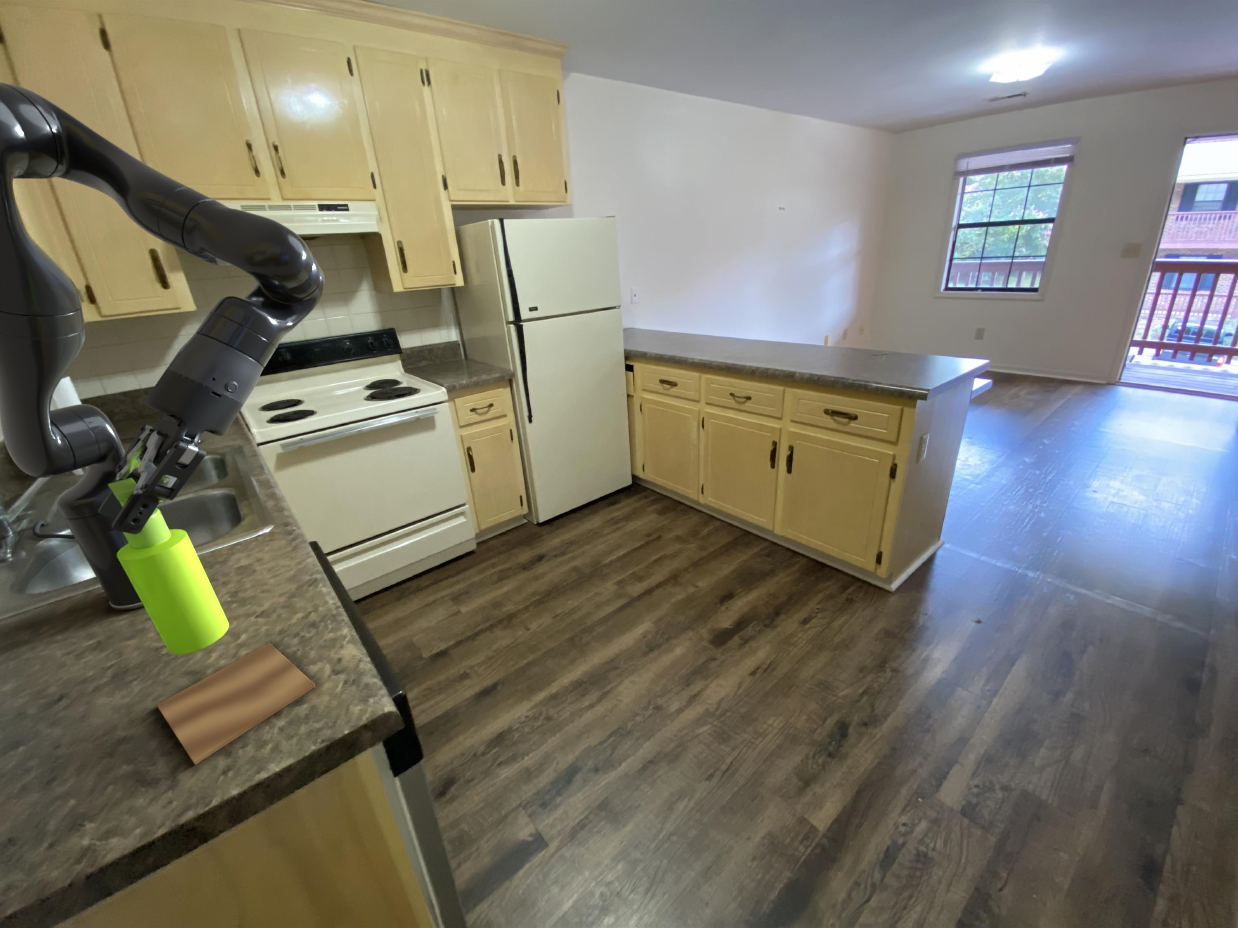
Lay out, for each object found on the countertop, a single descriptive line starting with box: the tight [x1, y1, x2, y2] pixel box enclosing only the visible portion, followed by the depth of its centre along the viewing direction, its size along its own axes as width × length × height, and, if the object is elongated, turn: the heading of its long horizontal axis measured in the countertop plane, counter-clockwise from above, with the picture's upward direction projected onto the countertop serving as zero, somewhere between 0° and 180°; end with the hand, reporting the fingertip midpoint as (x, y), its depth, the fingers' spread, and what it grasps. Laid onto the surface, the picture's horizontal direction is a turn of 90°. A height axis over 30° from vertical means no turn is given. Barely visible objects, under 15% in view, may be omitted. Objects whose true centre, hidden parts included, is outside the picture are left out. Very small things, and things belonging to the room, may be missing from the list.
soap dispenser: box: [108, 478, 230, 656], centre depth 56 cm, size 6×7×20 cm
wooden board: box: [156, 642, 316, 766], centre depth 65 cm, size 14×13×1 cm
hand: (117, 523), depth 53 cm, fingers closed on soap dispenser, 5 cm apart
